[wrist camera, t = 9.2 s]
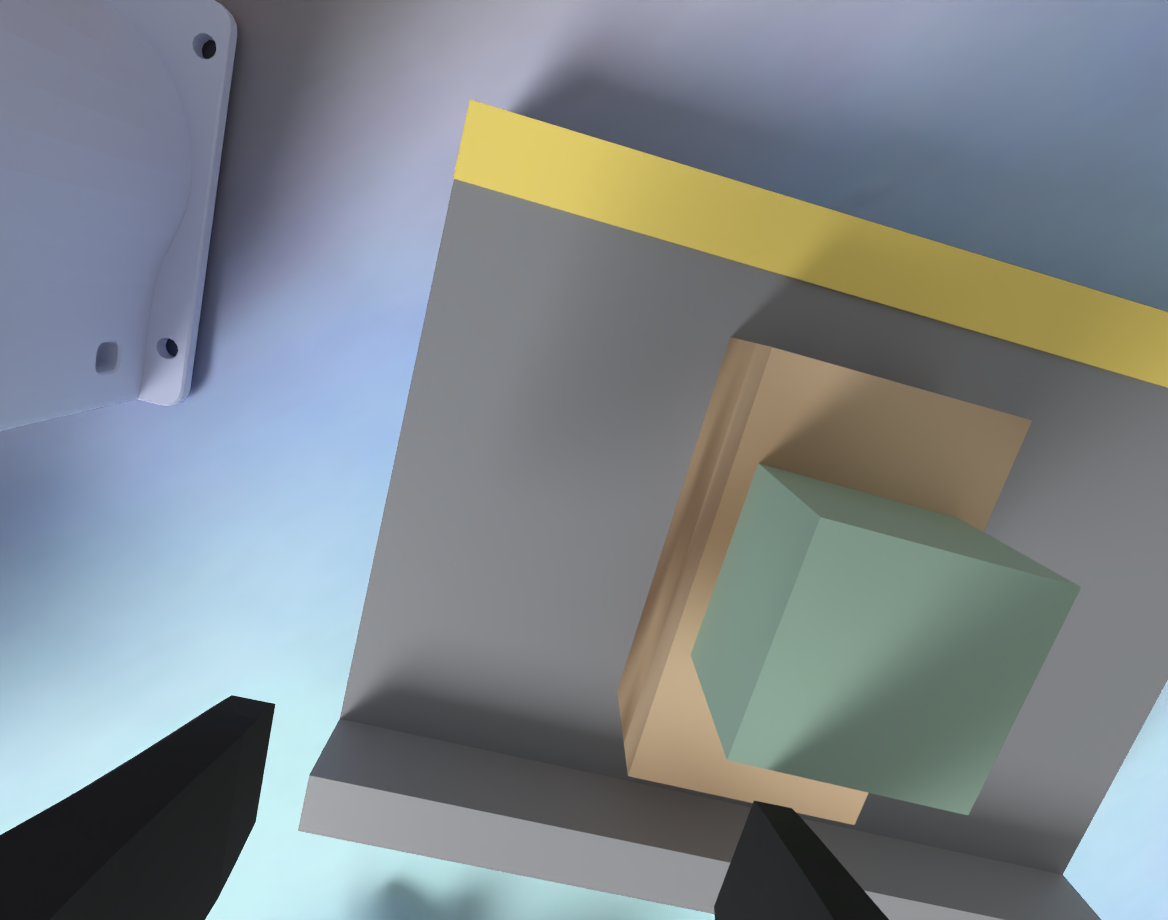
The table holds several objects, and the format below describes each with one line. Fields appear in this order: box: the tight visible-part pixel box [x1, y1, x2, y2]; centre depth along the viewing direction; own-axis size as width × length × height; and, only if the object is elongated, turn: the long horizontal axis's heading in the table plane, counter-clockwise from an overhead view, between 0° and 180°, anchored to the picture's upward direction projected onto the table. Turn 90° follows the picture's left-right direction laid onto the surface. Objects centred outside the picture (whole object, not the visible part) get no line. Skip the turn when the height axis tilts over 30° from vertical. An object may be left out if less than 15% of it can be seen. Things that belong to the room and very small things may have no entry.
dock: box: [298, 100, 1168, 920], centre depth 16 cm, size 16×20×5 cm
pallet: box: [617, 337, 1032, 825], centre depth 14 cm, size 9×5×3 cm, turn 165°
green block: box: [690, 463, 1081, 815], centre depth 11 cm, size 4×4×3 cm
